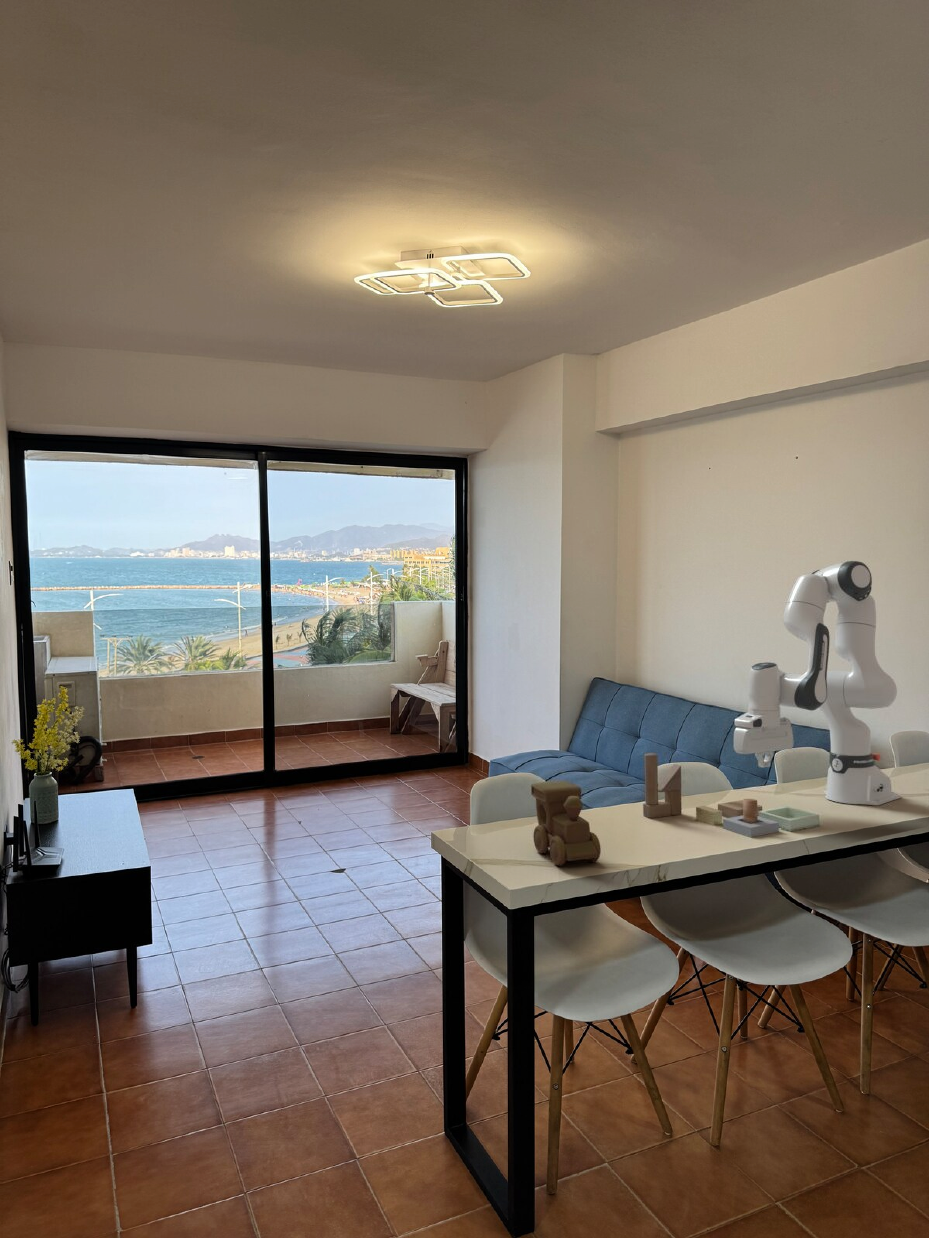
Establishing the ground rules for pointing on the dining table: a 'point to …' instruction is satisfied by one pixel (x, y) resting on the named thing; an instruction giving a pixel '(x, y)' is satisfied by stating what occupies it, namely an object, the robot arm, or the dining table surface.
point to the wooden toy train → (562, 823)
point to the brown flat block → (734, 809)
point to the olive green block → (709, 815)
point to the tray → (791, 818)
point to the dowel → (750, 811)
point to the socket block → (751, 826)
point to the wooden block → (661, 789)
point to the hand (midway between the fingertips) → (764, 766)
